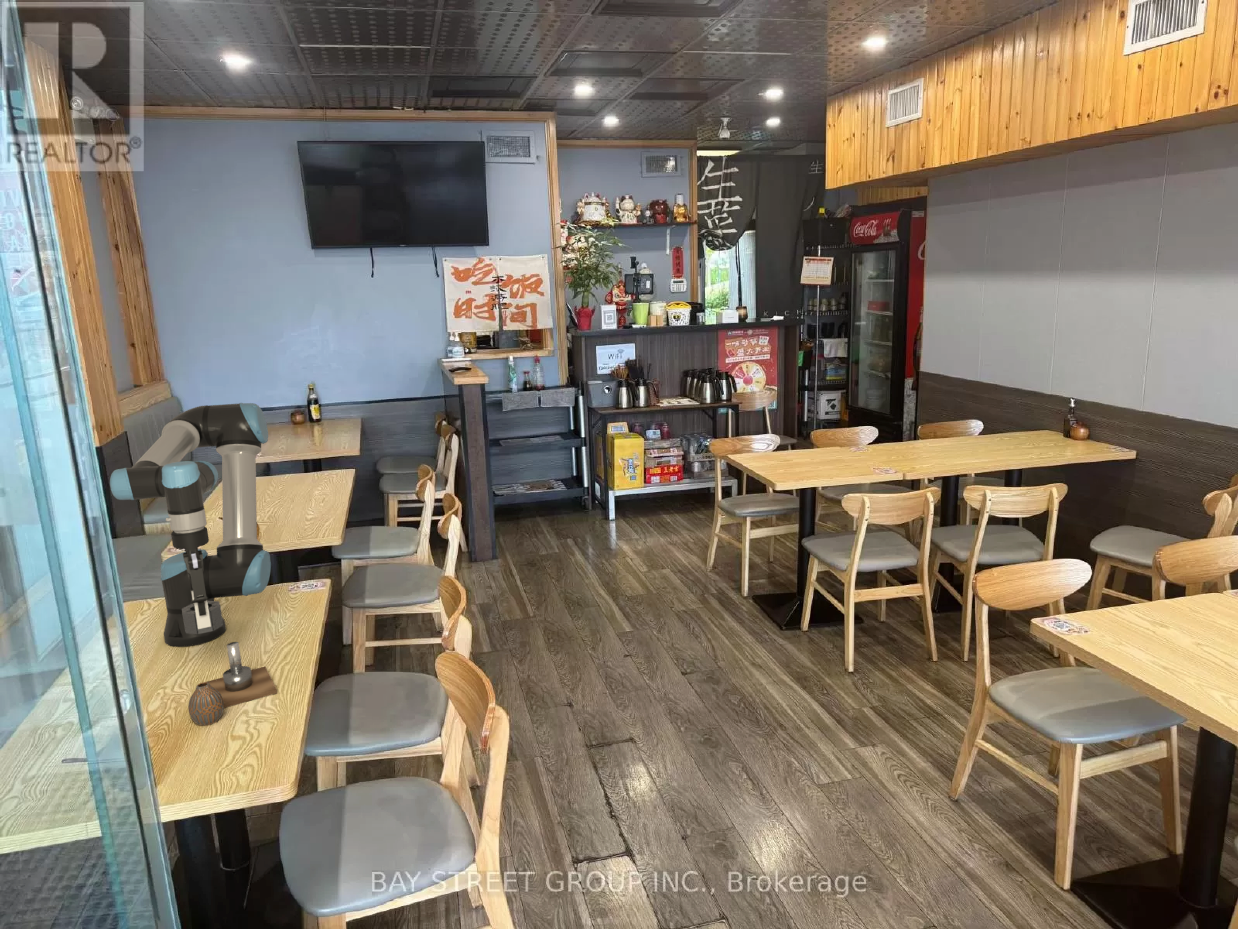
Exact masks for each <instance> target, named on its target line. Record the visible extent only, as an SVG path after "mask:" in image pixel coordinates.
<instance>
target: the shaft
mask: <svg viewBox="0 0 1238 929" xmlns="http://www.w3.org/2000/svg"><path fill="white" fill-rule="evenodd" d="M226 649H227V654H228V661H229V662H228V664H229V667H230V668H229V669H226V670H225V671H224V672H223V673H222V677H223V678H224V685H225V690H226V691H229V692H236V691H241V690H244V689H247V688H249V687H250V686H251V685H252V684H253V680H252V673H251V670H252V668H251V667H250V666H247V665H243V662H242V656H241V650H240V644H239V642H238V641H233V642H230V643H227V644H226Z"/></svg>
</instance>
